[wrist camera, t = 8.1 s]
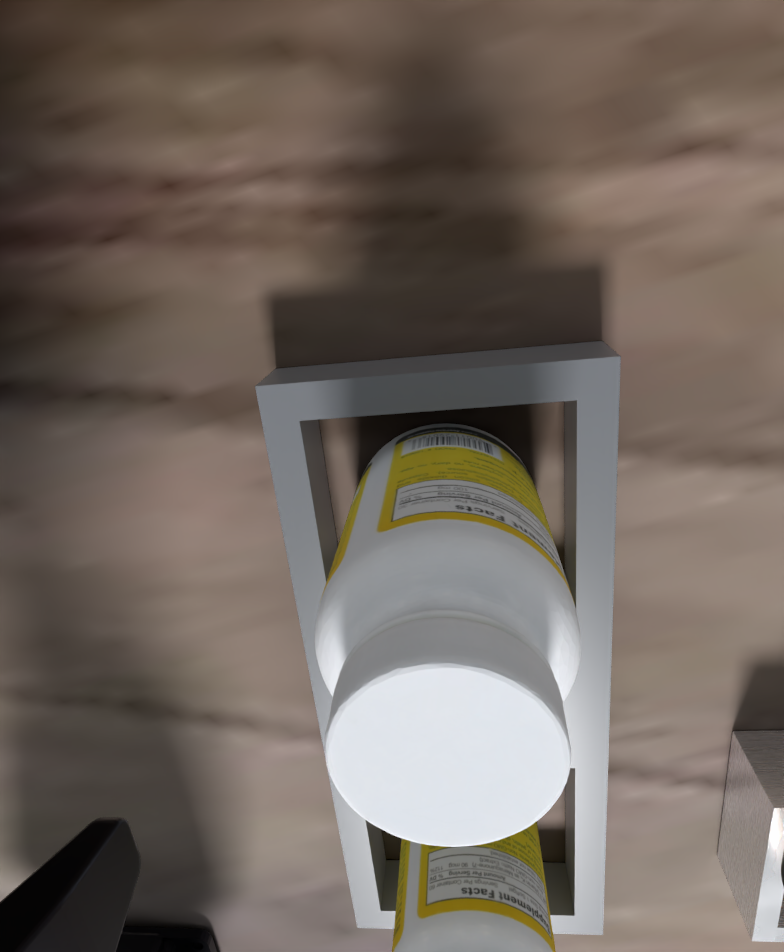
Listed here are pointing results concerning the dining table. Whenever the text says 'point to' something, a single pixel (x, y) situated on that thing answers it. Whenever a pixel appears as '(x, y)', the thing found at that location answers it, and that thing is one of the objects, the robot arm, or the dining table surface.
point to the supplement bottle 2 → (473, 897)
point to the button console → (755, 831)
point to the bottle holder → (586, 564)
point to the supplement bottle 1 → (447, 643)
